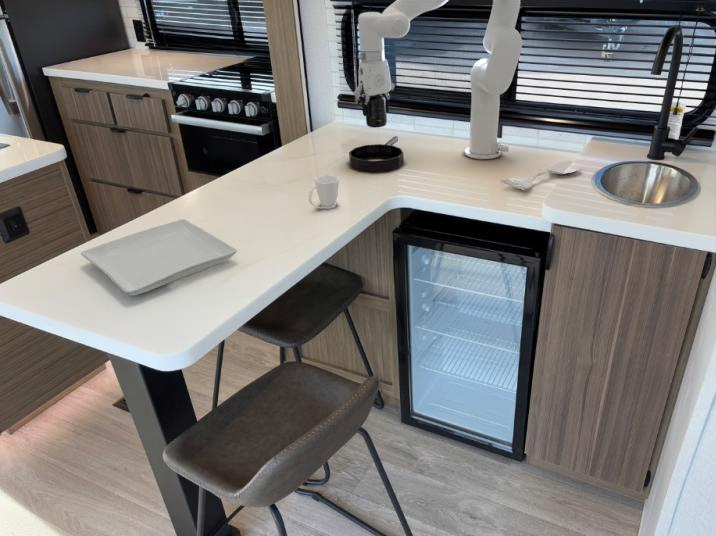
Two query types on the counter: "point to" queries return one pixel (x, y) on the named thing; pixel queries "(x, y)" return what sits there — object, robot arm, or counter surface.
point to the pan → (377, 157)
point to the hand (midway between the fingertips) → (375, 113)
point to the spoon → (556, 168)
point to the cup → (326, 191)
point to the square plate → (158, 256)
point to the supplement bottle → (377, 111)
